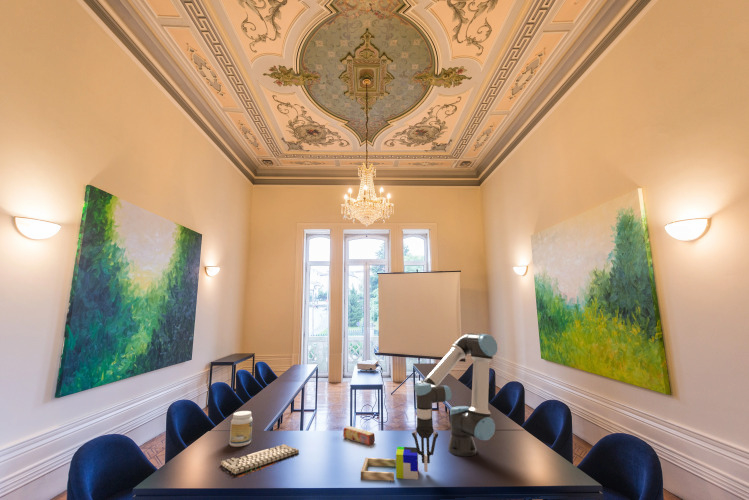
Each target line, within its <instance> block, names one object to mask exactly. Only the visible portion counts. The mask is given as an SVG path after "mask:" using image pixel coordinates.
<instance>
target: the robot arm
mask: <svg viewBox="0 0 749 500" xmlns="http://www.w3.org/2000/svg"><path fill="white" fill-rule="evenodd" d="M497 352H498V342H497V340H496V339H495V337H493V336H492V335H490V334H488V333H487V334H486V333H476V332H475V333H472V332H469V333H466V334H463V335H462V336H460V337H459V338H458V339H456V341H454V342H453V344H452V345H451V348H450V350H449V351H448V352H447V353H446V354H445V356H444V357H442V359H441V360H440V361H439V362H438V363H437V364H436V366H435V367H434V368H433V369H432V370H431V371H430V372H429V373H428V374H427V376H426V377H425V378H424V379H423V380H418V381H416V382H415V384H414V392H415V396H416V397H415V399H416V400H415V402H416V403H415V404H416V428H415V430H414V431H411V435H412V437H413V439H414V443H415V448H417V452H418V456H419V455H420V456H421V464H423V467H424V470H423V471H424V472H425V473H428V470H429V469H428V467H429V466H428V464H430V463H431V461H430V460H431V458H430V457H431V456H433V455H434V454H435V453H434V452H435V447H436V441H437V439H438V437H439V432H438V431H437V432H436V431H435V429H434V427H433V418H432V417H433V404H437V403H445V402H449V401H450V400H451V399H452V389H451V388H450V386H449V385H443V384H442V385H440V384H441V383H442V381H443V380H444V379H445V378H446V376H448V375H449V373H450V372H451V371H452V370H453V369H454V368H455V366H456V365H457V364H458V363H459V362H460V360H461V359H464V358H465V357H466V356H467V355H470V358H471V360H472V361H473V362H472V363H473V364H472V386H471V404H470V405H471V406H467V405H458V406H453V407H451V408H450V409H449V417H450V419H449V422H450V439H449V442H448V452H449V453H451V454H452V455H455V456H459V457H472V456H475V455H476V454H477V446H476V444H475V440H474V438H476V439H477V440H481V441H485V442H486V441H489V440H490V439H491V438H492V437H493V435H494V434H495V431H496V424H495V420H494V419H493V418H492V417H491V416H492V413H491V411H490V410H489V389H490V386H489V383H490V363H491V362H492V361H493V357H494V356H495V355H496V353H497ZM418 436H419V437H420V439H421V440H420V441H421V442H420V445H421V446H420V445H419V440H418ZM432 436H433V438H432V441H431V447H430V437H432ZM473 437H474V438H473ZM425 439H426V440H425ZM424 441H426V454H425V442H424ZM420 447H421V449H420Z"/></svg>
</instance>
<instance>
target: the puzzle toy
mask: <svg viewBox="0 0 749 500" xmlns="http://www.w3.org/2000/svg"><path fill="white" fill-rule="evenodd" d="M395 459H396V467H395V475H396V476H395V477H396V479H401V480H402V479H403V480H404V479H405V480H419V454H418V452H417V448H416V446H415V447H413V446H408V447H407V446H397V447H396V451H395Z"/></svg>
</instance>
